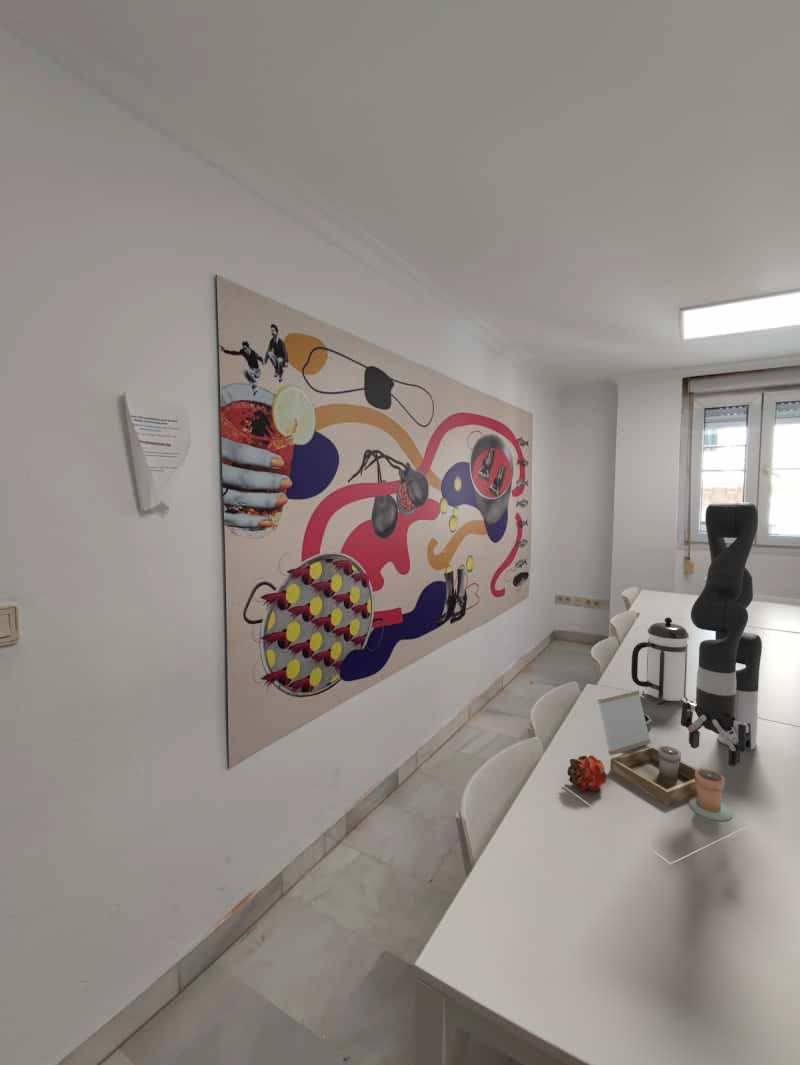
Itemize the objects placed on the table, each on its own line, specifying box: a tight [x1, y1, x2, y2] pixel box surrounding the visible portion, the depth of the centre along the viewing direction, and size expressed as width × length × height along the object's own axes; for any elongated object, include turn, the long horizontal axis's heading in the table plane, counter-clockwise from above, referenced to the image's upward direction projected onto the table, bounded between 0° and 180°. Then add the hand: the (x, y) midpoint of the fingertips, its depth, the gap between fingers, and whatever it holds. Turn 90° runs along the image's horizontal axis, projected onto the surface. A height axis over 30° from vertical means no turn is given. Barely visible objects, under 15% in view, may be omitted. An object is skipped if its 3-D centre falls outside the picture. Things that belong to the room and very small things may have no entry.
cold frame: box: [609, 745, 697, 807], centre depth 125 cm, size 16×23×12 cm
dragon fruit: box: [567, 755, 607, 793], centre depth 119 cm, size 8×8×12 cm
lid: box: [597, 690, 651, 756], centre depth 131 cm, size 15×14×1 cm
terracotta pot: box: [695, 767, 726, 813], centre depth 111 cm, size 6×6×7 cm
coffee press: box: [630, 616, 690, 706], centre depth 171 cm, size 17×16×30 cm
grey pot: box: [657, 745, 682, 780], centre depth 124 cm, size 5×5×7 cm
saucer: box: [688, 795, 733, 822], centre depth 110 cm, size 8×8×1 cm
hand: (713, 755), depth 110 cm, fingers open, 8 cm apart
